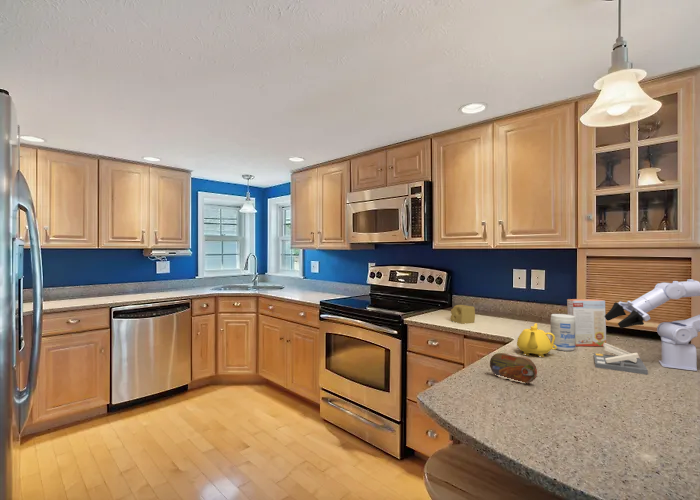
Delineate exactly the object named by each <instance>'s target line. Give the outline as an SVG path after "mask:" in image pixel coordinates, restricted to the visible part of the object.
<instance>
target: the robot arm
mask: <svg viewBox="0 0 700 500" xmlns="http://www.w3.org/2000/svg"><path fill="white" fill-rule="evenodd" d="M699 296H700V281H698V280H695V279H692V278H689V279H686V281H678V280H673V281H672V282H660V283H658V282H657V284H655V286H654V288H653V289H652V290H650V291H648V292H646V293H644V294H643V295H641V296H639V297H637V298H636V299H634V300H632V301H631V300H627V301H626V302H623V301H619V302H614V303H613V305H612V307H611V308H610V309H609V310H608V312H607V313H605V314H606V315H605V316H604V317H605V318H606V321H611V320H614V319H615V318H618V317H621V316H626V315H627V313H626V312H625V311H627V312H628V313H629V315H627V316H626V317H624V318H623V319H621V320H620V321H619V322H618V323H617V325H618V327H619V328H620V329H625V328H630V327H632V326H643V325H644V324H645V323H644V321H645V322H648V321H649V320H651V317H650V314H648V313H649V312H651V311H652V310H654V309H656V308H658V307H659V306H661V305H664V304H665V303H666V302H669V301H670V300H679V299H681V298H688V297H689V298H691V297H699ZM656 332H657V334H658V336H660V340H661V360H660V359H659V360H658V363H659V364H660V365H661V366H662V367H663V368H670V369H677V370H678V369H679V370H687V371H694V372H698V368H697V367H698V366H697V364H698V361H697V360H698V359H697V348H696V346H695V344H693V343H690V342H691V341H692V340H693V339H694V338H697V337H698V336H699V335H698V334H699V332H700V314H697V315H695V316H692V317H690V318H686V319H682V320H673V321H663V322H660V323H659V324H658V326H657V328H656Z"/></svg>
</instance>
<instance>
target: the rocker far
mask: <svg viewBox="0 0 700 500" xmlns="http://www.w3.org/2000/svg"><path fill="white" fill-rule="evenodd" d="M603 346H604V347H605V346H607V347H610V348H612V349H615V350H617V351H620V352H622V353H625V354H632V353H633V352H632V353H631V352H629V351H627V350H624V349H622V348H620V347H617V346H614V345H612V344H609V343H607V342H606V343H605V342H604V344H603ZM603 346H602V347H603ZM604 347H603V348H604Z"/></svg>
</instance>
